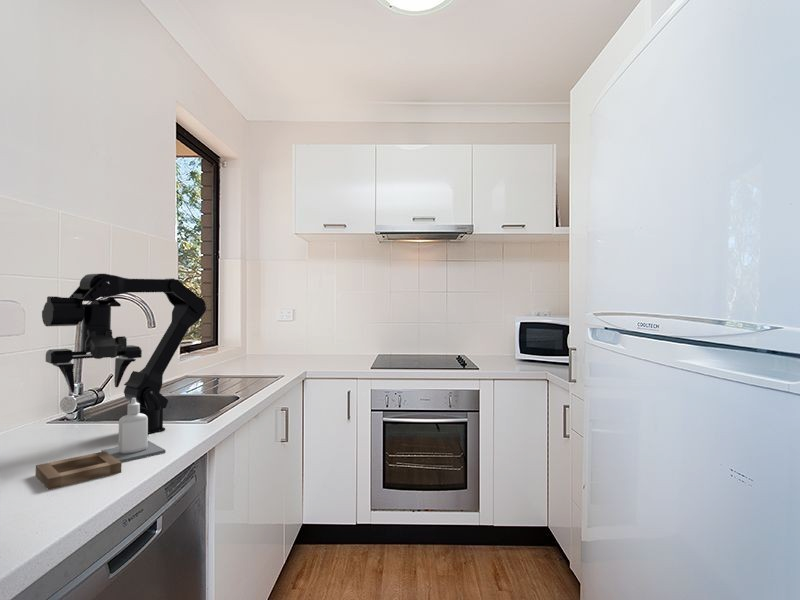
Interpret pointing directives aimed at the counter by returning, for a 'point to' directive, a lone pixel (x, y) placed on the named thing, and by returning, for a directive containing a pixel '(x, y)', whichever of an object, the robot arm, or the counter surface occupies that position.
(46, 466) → the wooden tray
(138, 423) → the eye dropper bottle
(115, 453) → the mat
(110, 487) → the counter surface
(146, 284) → the robot arm
